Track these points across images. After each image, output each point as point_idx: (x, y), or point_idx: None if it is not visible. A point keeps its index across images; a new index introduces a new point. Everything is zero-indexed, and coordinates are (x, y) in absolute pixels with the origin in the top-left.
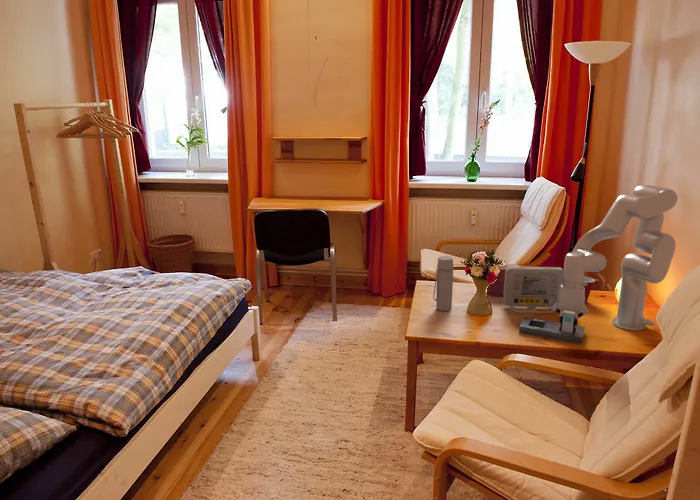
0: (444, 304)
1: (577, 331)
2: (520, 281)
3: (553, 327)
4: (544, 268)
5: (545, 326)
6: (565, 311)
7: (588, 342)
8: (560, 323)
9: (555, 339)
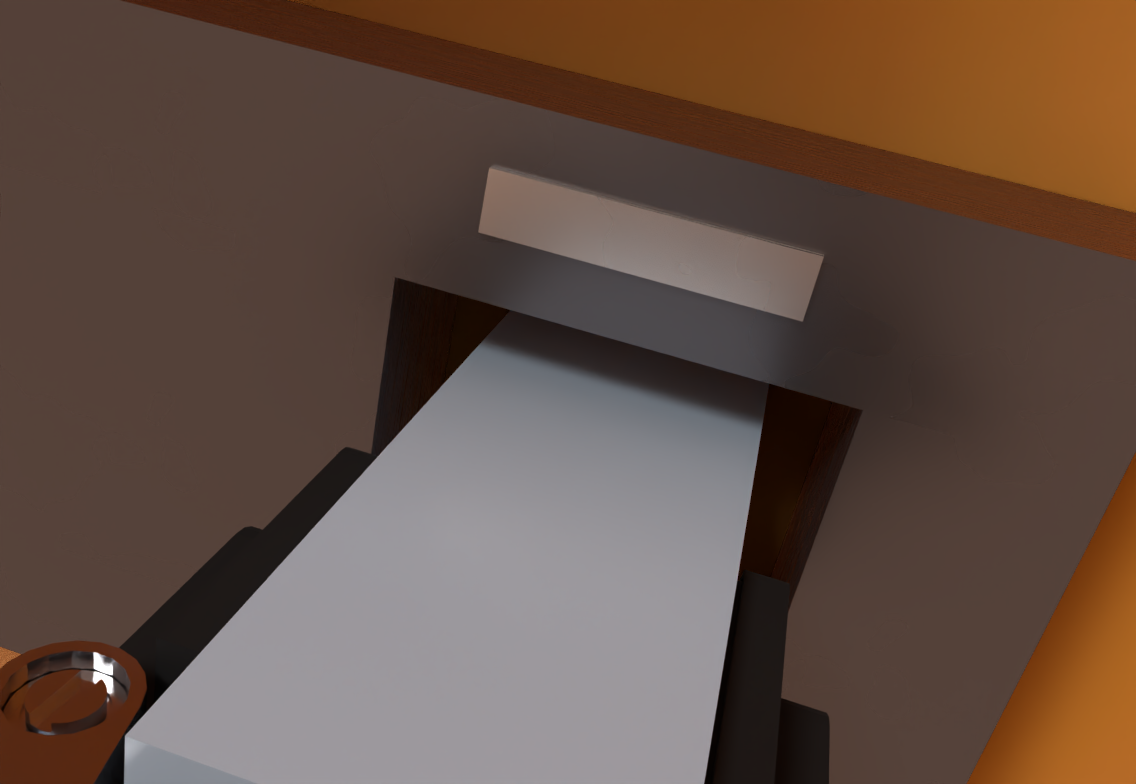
0: None
1: (841, 642)
2: None
3: (212, 462)
4: None
5: (25, 426)
6: (170, 779)
7: (1083, 709)
8: (389, 118)
9: None
